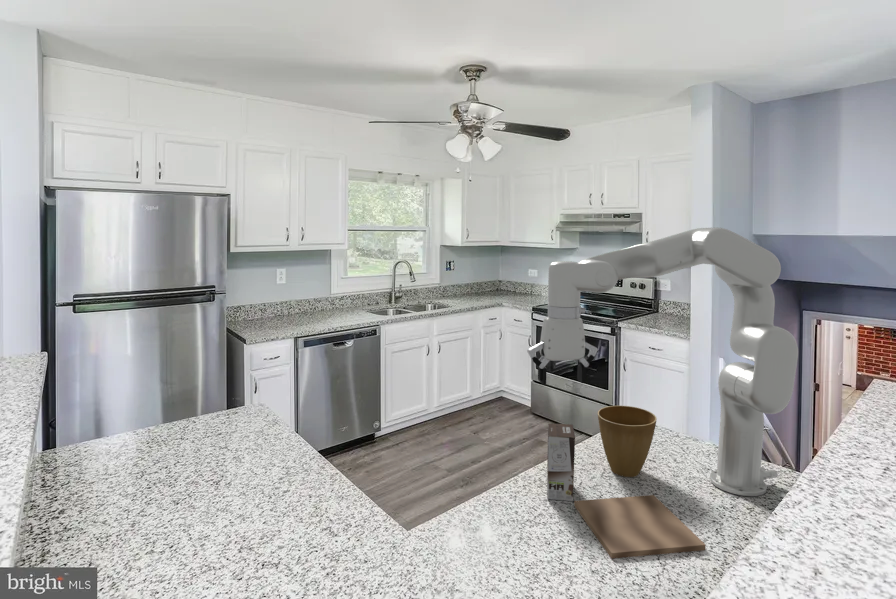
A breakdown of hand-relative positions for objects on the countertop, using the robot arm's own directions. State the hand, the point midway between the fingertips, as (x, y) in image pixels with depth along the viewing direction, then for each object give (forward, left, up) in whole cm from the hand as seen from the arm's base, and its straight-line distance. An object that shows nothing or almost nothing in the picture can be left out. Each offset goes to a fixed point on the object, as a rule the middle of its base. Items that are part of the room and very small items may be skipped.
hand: (561, 382), depth 123 cm
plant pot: (-21, -8, -28) cm, 36 cm away
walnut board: (-11, +17, -28) cm, 35 cm away
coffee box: (0, 0, -28) cm, 28 cm away
